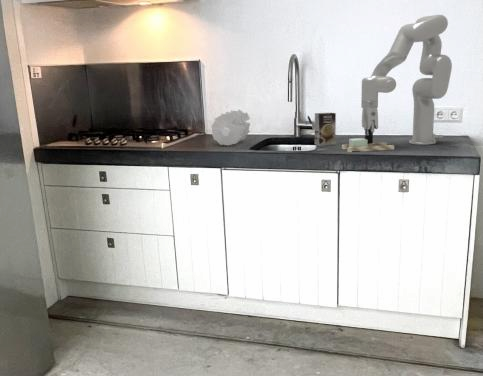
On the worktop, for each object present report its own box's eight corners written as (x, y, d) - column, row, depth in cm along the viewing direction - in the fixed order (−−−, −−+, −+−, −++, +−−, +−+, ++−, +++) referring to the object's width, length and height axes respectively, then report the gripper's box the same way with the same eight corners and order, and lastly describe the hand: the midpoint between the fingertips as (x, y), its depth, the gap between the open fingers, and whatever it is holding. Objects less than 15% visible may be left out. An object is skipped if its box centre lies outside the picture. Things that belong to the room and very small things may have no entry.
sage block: (363, 148, 246) (363, 138, 244) (367, 150, 240) (367, 139, 239) (349, 149, 245) (349, 138, 244) (352, 151, 239) (352, 140, 238)
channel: (385, 146, 248) (386, 142, 248) (394, 149, 239) (394, 145, 238) (341, 148, 246) (342, 144, 246) (348, 152, 237) (348, 147, 236)
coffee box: (319, 146, 257) (319, 114, 253) (314, 144, 263) (314, 113, 259) (336, 144, 259) (336, 112, 256) (330, 143, 266) (330, 112, 262)
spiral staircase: (218, 154, 269) (231, 144, 292) (247, 140, 263) (257, 131, 286) (202, 123, 266) (216, 116, 290) (230, 108, 260) (242, 102, 284)
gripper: (383, 105, 231) (382, 145, 235) (371, 103, 245) (370, 140, 249) (367, 106, 230) (366, 146, 234) (356, 103, 244) (355, 141, 249)
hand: (368, 143), depth 242 cm, fingers closed
